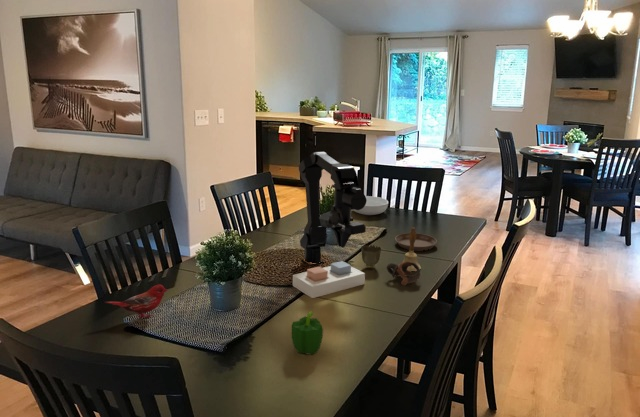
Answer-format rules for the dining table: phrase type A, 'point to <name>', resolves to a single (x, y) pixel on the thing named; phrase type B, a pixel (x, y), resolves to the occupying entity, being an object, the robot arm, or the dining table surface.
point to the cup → (370, 255)
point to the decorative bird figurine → (143, 301)
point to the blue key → (340, 268)
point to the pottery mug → (404, 271)
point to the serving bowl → (373, 206)
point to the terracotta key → (317, 274)
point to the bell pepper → (307, 334)
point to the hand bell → (412, 251)
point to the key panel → (328, 282)
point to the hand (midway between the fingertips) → (341, 246)
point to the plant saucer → (416, 241)
